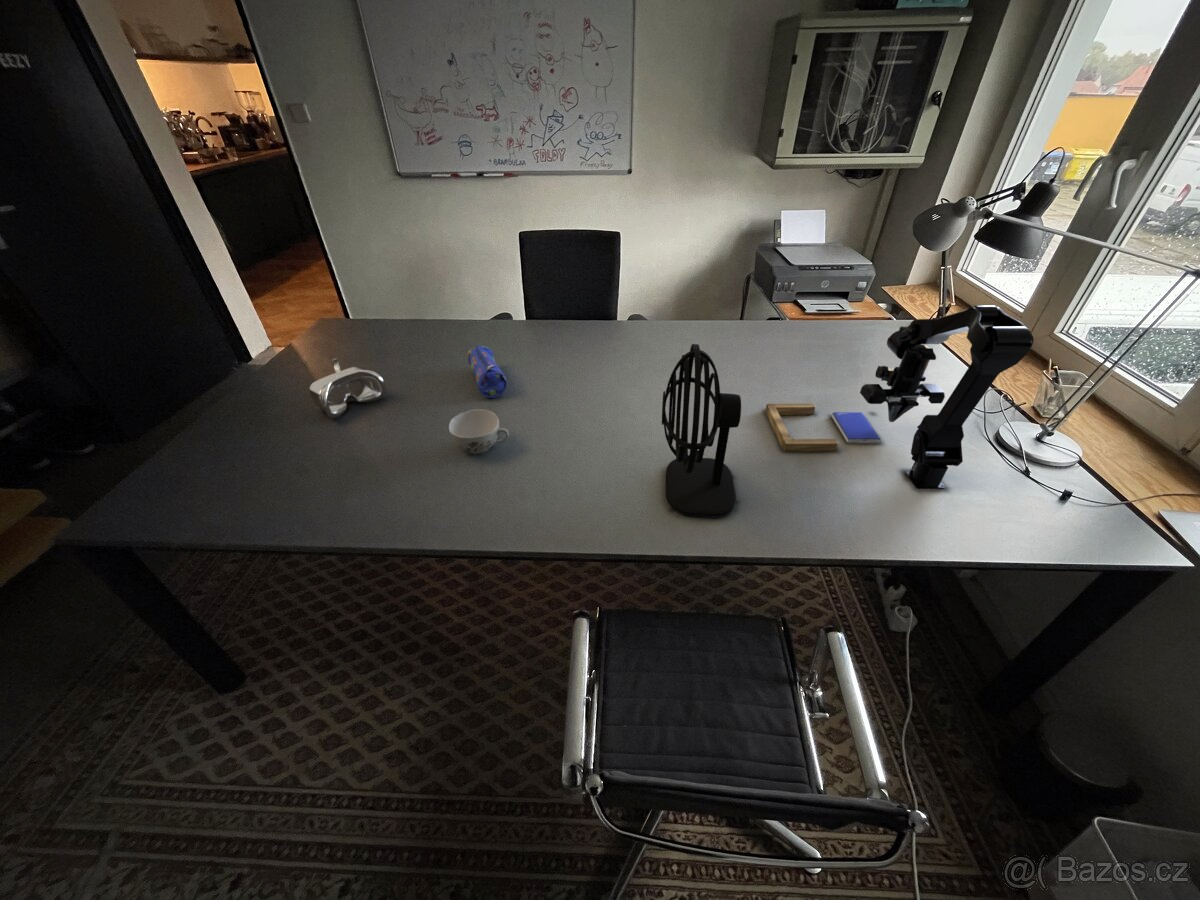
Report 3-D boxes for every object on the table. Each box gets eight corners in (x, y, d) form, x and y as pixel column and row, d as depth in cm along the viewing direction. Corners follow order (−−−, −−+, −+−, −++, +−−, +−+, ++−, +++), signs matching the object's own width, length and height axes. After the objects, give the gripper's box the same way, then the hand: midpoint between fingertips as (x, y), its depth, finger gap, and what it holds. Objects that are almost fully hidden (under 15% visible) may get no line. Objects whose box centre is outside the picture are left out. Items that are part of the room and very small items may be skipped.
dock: (835, 451, 128) (837, 443, 126) (783, 451, 128) (785, 443, 127) (811, 410, 143) (813, 403, 141) (765, 411, 143) (766, 403, 142)
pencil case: (510, 397, 152) (506, 368, 146) (481, 403, 149) (476, 374, 143) (494, 365, 168) (490, 338, 162) (468, 370, 166) (463, 343, 160)
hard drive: (832, 412, 139) (848, 438, 129) (862, 412, 139) (881, 438, 129) (831, 416, 140) (847, 443, 130) (861, 416, 140) (879, 443, 130)
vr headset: (332, 425, 141) (313, 380, 132) (313, 411, 147) (294, 367, 138) (390, 399, 152) (376, 355, 143) (371, 387, 158) (356, 344, 149)
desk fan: (658, 450, 129) (666, 321, 108) (727, 454, 128) (749, 323, 106) (656, 526, 108) (666, 384, 87) (739, 532, 106) (770, 387, 85)
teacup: (446, 459, 128) (439, 434, 123) (465, 431, 137) (459, 407, 133) (502, 465, 125) (498, 439, 121) (518, 436, 135) (514, 411, 130)
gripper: (933, 353, 130) (911, 404, 140) (860, 354, 131) (844, 405, 140) (957, 374, 121) (932, 427, 131) (879, 375, 122) (860, 428, 131)
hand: (890, 421), depth 133 cm, fingers closed
